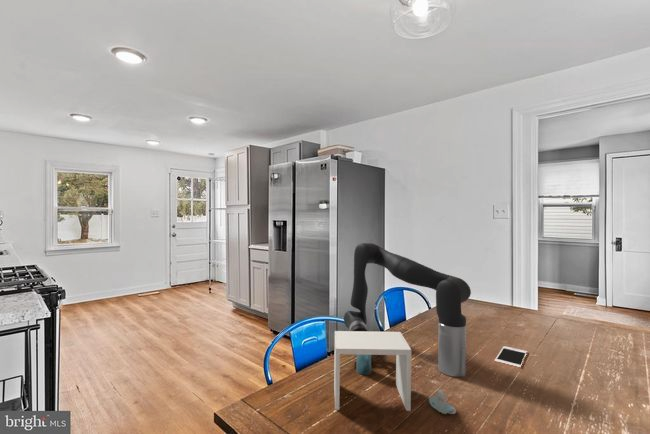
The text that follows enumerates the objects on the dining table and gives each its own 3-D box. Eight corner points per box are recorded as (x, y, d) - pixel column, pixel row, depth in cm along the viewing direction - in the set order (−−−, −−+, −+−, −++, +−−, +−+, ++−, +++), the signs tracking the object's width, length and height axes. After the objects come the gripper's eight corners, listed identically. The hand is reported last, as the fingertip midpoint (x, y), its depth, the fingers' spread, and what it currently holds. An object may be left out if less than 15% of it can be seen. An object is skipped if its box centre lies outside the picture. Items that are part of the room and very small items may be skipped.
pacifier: (439, 401, 98) (426, 406, 95) (440, 380, 98) (426, 385, 95) (461, 414, 91) (447, 420, 88) (461, 392, 91) (447, 397, 88)
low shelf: (334, 384, 106) (334, 331, 106) (399, 385, 106) (400, 331, 106) (335, 409, 92) (335, 348, 92) (410, 410, 92) (411, 349, 92)
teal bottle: (372, 369, 117) (373, 336, 117) (368, 376, 112) (369, 341, 112) (358, 366, 119) (359, 333, 119) (354, 373, 114) (355, 338, 114)
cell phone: (528, 353, 132) (528, 351, 132) (521, 369, 119) (521, 367, 119) (503, 347, 138) (503, 345, 138) (494, 362, 124) (494, 360, 124)
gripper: (341, 323, 133) (343, 338, 117) (376, 323, 133) (383, 338, 117) (341, 341, 133) (343, 359, 117) (375, 341, 133) (382, 359, 117)
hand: (363, 348), depth 117 cm, fingers open, 8 cm apart
